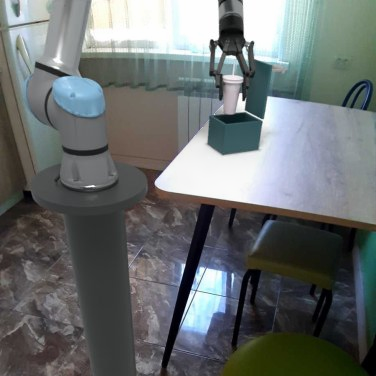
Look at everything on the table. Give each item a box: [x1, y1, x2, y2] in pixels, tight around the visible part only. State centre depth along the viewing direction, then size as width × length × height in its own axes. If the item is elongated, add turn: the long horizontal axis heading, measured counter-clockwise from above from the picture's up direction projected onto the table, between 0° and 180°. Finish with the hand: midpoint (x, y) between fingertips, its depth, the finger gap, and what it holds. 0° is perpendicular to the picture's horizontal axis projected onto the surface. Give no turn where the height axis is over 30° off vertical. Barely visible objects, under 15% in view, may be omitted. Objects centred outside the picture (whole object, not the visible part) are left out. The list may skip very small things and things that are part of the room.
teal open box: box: [207, 111, 263, 156], centre depth 134 cm, size 14×11×9 cm
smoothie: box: [222, 58, 243, 115], centre depth 124 cm, size 6×6×14 cm
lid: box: [244, 58, 287, 120], centre depth 129 cm, size 14×11×8 cm
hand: (232, 98), depth 123 cm, fingers closed on smoothie, 6 cm apart
